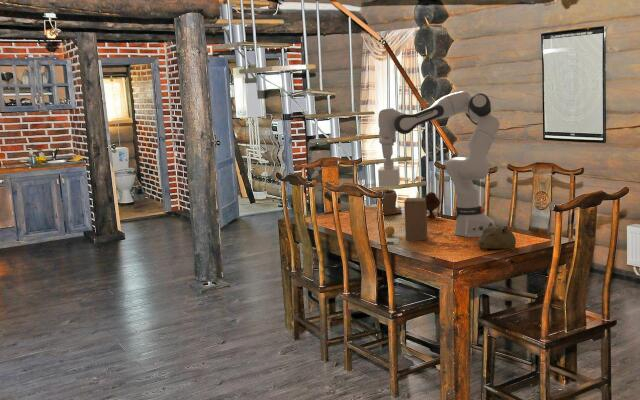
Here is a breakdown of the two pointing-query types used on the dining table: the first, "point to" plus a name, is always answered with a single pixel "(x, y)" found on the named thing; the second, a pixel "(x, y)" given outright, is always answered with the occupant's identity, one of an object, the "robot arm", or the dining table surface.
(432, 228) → the dining table surface
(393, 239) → the mark
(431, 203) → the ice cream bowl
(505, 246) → the bear head
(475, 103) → the robot arm
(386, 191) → the stone cup
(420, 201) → the wooden block
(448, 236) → the dining table surface
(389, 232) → the ball
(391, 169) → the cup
